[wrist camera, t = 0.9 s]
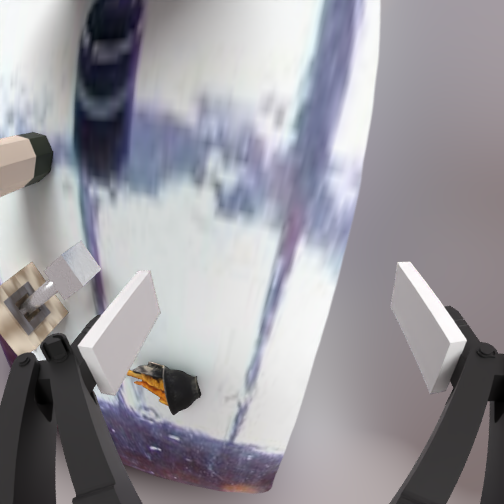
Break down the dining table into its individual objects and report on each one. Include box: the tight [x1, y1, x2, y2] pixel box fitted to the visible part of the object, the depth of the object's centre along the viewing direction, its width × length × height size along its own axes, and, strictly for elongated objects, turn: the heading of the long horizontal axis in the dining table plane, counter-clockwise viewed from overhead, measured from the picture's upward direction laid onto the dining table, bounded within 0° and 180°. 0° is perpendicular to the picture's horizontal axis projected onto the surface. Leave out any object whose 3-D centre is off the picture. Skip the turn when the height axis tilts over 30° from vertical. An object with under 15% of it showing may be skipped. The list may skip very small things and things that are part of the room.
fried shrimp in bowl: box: [127, 362, 201, 415], centre depth 51 cm, size 9×11×18 cm
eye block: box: [0, 262, 69, 356], centre depth 45 cm, size 12×9×12 cm
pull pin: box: [18, 241, 101, 318], centre depth 41 cm, size 5×26×5 cm, turn 121°
